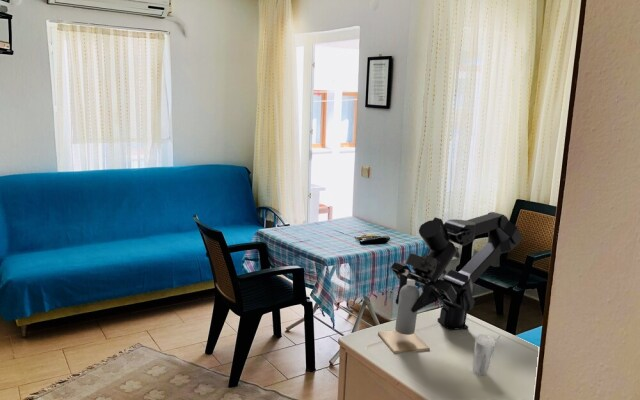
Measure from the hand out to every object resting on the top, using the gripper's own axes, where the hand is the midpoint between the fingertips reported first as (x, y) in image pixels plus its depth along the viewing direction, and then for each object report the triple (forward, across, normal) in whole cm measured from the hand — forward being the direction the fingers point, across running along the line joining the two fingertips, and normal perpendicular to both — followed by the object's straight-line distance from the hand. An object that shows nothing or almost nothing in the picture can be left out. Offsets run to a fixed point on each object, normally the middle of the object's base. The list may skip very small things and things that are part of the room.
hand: (404, 307), depth 128 cm
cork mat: (+6, 0, +8) cm, 10 cm away
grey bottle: (+4, 0, +6) cm, 7 cm away
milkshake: (+2, +20, +12) cm, 23 cm away
